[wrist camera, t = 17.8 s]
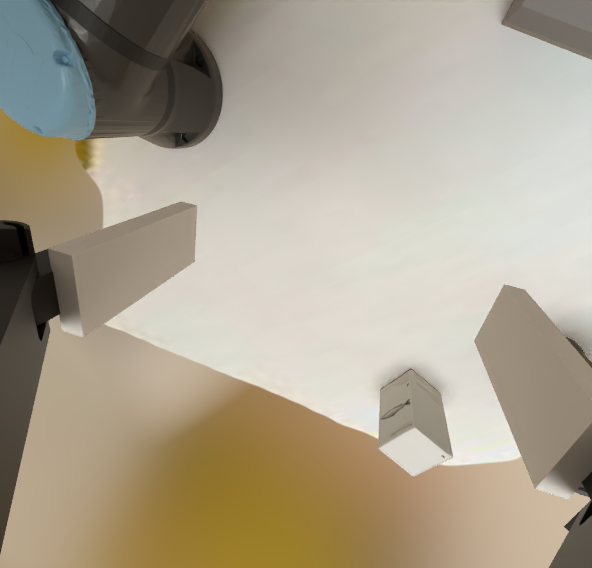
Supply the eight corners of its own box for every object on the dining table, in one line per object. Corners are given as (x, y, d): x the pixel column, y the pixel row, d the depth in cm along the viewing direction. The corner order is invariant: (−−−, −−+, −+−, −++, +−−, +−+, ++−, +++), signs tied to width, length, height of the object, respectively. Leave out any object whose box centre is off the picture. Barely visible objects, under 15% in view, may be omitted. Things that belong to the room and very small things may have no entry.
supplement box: (410, 367, 56) (416, 426, 44) (442, 394, 56) (455, 459, 45) (378, 388, 59) (376, 448, 48) (408, 414, 60) (413, 479, 49)
